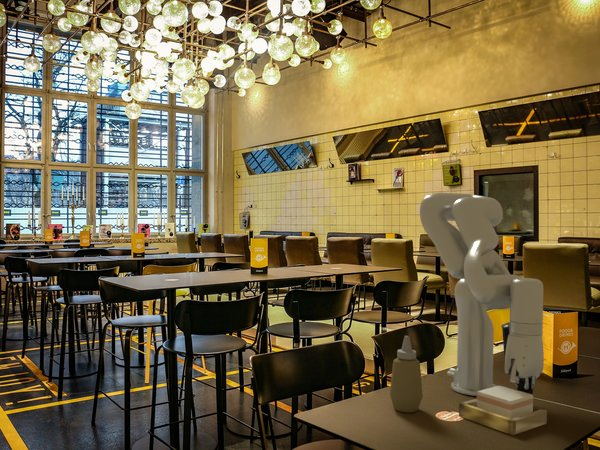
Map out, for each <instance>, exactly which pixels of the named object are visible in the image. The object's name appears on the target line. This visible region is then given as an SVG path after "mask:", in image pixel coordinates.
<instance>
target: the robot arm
mask: <svg viewBox="0 0 600 450" xmlns="http://www.w3.org/2000/svg"><path fill="white" fill-rule="evenodd" d="M503 211H504V210H503V207H502V205H501V204H500V202H499V201H498V200H497V199H495V198H493V197H491V196H490V197H489V196H484V195H478V194H477V195H476V194H473V193H460V192H459V193H457V192H435V193H431V194H427V195H426V196H425V197H423V199H422V200H421V202H420V207H419V217H420V221H421V226H422V228H423V229H424V232H425V233H426V235H428V238H429V239H430V240H431V241H432V243H433V245H434V247H435V249H436V250H437V253H438V254H439V257H440V259H441V260H442V262H443V264H444V266H445V268H446V270H447V272H448V273H449V275H450V276H451V277H453V278H455V279H457V280H458V281H457V282H456V284H455V286H454V299H455V306H456V313H457V314H456V315H457V343H456V345H457V350H456V352H457V354H456V355H457V356H456V368H454V367H450V368H449V369H448V370H447V373H446V375H447V376H448V377H451V378H453V381H452V382H451V383H450V388H451V390H453V391H454V392H457V393H459V394H463V395H467V396H473V397H474V396H475V397H477V391H480V390H484V389H488V388H492V387H496V386H497V385H496V384H495V383H494V341H495V340H494V337H495V336H494V335H495V333H494V331H495V330H494V324H493V321H492V318H491V317H490V315H489V313H488V311H490V310H492V311H493V310H494V311H495V310H506V309H509V322H510V332H509V333H510V334H509V335H508V339H507V345H506V354H505V361H504V373H505V374H506V375H508V376H509V375H510V379H509V382H510V383H513V384H515V387H516V390H518V391H521V392H525V393H528V394H532V395H533V396H534V388H535V383H536V380H537V379H538V378H539V377H540V375H541V373H543V371H544V364H545V362H544V359H545V358H544V357H545V356H544V355H545V354H544V352H545V351H544V341H543V340H544V339H543V334H544V333H543V332H544V331H543V330H544V329H543V328H544V327H543V326H544V322H543V321H544V318H543V317H544V284H543V282H542V281H541V280H540V279H537V278H530V277H523V276H521V275H517V274H511V273H510V272H509V270H508V268H507V266H506V265H505V263H504V261H503V259H502V258H501V256H500V255H499V253H498V252H496V251H495V250H494V249H495V248H496V247H497V246H498V245H499V241H500V240H499V236H498V234H497V233H496V230H495V229H494V227H496V226H498V225H499V224H500V223H501V222H502V220H503V214H504V212H503ZM449 221H451V222H455V224H456V226H457V227H456V226H455V225H453V224H451V223H450V222H449Z"/></svg>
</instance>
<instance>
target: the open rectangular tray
mask: <svg viewBox="0 0 600 450" xmlns="http://www.w3.org/2000/svg"><path fill="white" fill-rule="evenodd" d="M458 416H459V417H461V418H464V419H466V420H469V421H471V422H475V423H478V424H479V425H484V426H486V427H488V428H491V429H494V430H498V431H499V432H503V433H506V434H508V435H511V436H515V435H517V434H521V433H523V432H526V431H529V430H532V429H535V428H537V427H541V426H543V425H546V424H547V423H548V421H547V419H548V418H547V417H548V410H546V409H542V408H540V409H538V410H535V411H533V412H531V413H528V414H525V415H522V416H519V417H516V418H512V419H510V418H507V417H504V416H501V415H498V414H495V413H492V412H489V411H486V410H483V409H480V408H477V398H473V399H470V400H466V401H463V402H459V404H458Z"/></svg>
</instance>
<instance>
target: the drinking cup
mask: <svg viewBox="0 0 600 450" xmlns="http://www.w3.org/2000/svg"><path fill="white" fill-rule="evenodd" d="M500 326H501V327H500V328H501V329H502V330H501V331H502V343H503V346H502V347H503V357H504V358H503V359H504V362H505V354H506V345H507V339H508V335H509V334H510V333H509V332H510V321H508V322H506V323H503V324H501V325H500Z"/></svg>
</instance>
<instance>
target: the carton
mask: <svg viewBox="0 0 600 450" xmlns="http://www.w3.org/2000/svg"><path fill="white" fill-rule="evenodd" d="M476 399H477V408H480V409H483V410H486V411H489V412H492V413H495V414H498V415H501V416H504V417H507V418H510V419H512V418H516V417H519V416H522V415H525V414H528V413H531V412H534V411H533V410H534V394H533V395H532V394H528V393H525V392H521V391H518V390H517V389H514V388H510V387H507V386H502V385H496V387H492V388H488V389H484V390H480V391H477V396H476Z"/></svg>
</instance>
